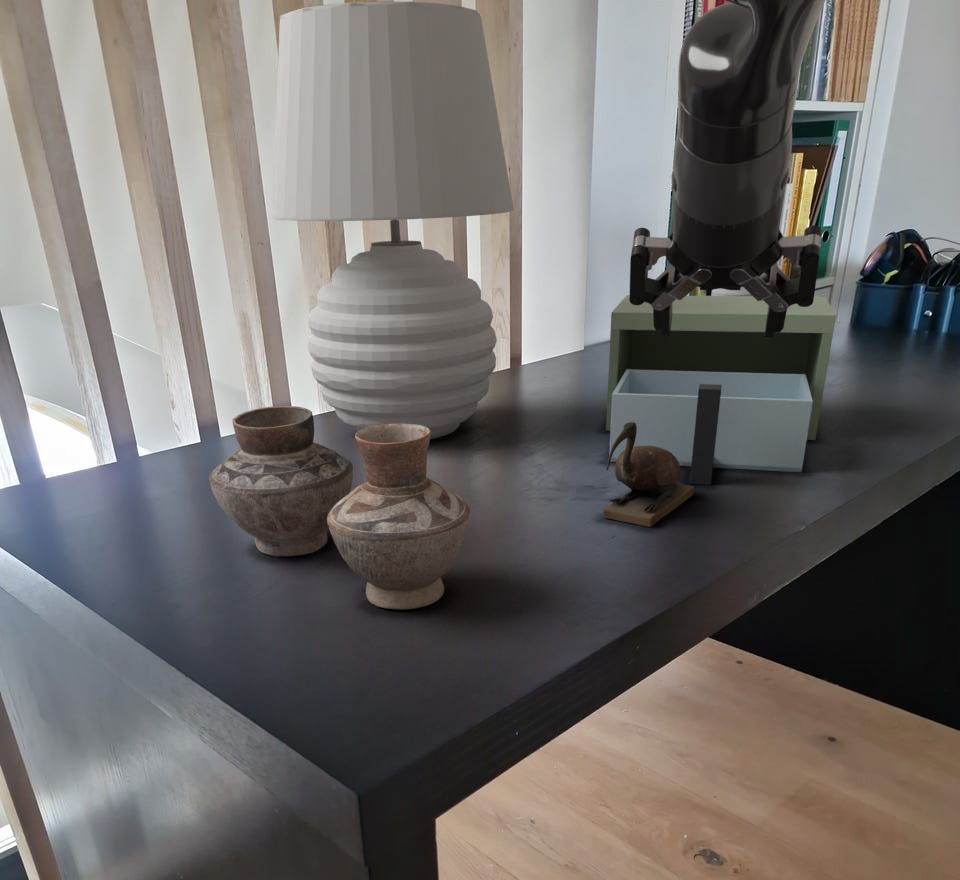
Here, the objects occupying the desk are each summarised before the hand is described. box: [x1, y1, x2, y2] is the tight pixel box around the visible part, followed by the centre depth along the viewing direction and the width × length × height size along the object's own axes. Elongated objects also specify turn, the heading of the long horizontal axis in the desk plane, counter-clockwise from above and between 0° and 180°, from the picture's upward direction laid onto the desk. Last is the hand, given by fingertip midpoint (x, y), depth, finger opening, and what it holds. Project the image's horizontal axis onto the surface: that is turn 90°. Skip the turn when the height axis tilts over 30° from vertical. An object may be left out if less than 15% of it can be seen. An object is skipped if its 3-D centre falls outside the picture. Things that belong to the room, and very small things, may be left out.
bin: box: [608, 369, 813, 486], centre depth 87 cm, size 18×19×9 cm
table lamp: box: [272, 1, 514, 441], centre depth 92 cm, size 25×25×40 cm
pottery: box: [208, 405, 471, 611], centre depth 64 cm, size 11×25×12 cm, turn 46°
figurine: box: [603, 422, 695, 528], centre depth 74 cm, size 14×4×9 cm, turn 146°
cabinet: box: [605, 294, 837, 441], centre depth 99 cm, size 14×23×13 cm, turn 75°
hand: (717, 328), depth 73 cm, fingers open, 8 cm apart
